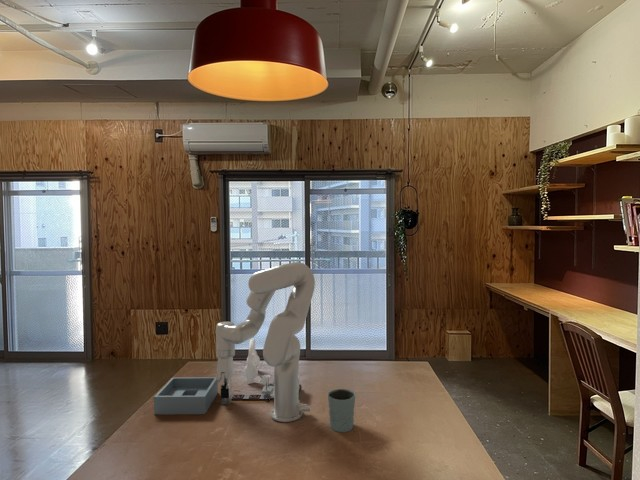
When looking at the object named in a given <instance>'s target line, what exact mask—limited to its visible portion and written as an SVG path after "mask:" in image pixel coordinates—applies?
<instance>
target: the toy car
mask: <svg viewBox="0 0 640 480" xmlns="http://www.w3.org/2000/svg"><path fill="white" fill-rule="evenodd" d="M270 379H271V375H266V374H264V375H259V380H258V382H259V383H263V384H265V385H264V386H263V387H262V390H261V394H263V400H264V399H266V398H267V399H269V400H268V401H270V400H271V399H274V383H269V380H270ZM298 384H299V391H301V390H302V388H303V386H302V384H300V375H298ZM300 397H301V396H300V395H299V400H300V399H301V398H300Z"/></svg>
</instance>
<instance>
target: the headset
mask: <svg viewBox="0 0 640 480" xmlns="http://www.w3.org/2000/svg"><path fill="white" fill-rule="evenodd" d="M260 363H261V359H260V356H259V355H258V351H257V350H256V341H255V339H254V338H251V339H249V344H248V356H247V358H246V365H245V367H244V368H243V376H244V377H245V379H246V384H247V385H249V384H252V383H254V382H255V379H256V378H257V377H258V373H259V372H258V371H259V370H258V367H259V366H260Z"/></svg>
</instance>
